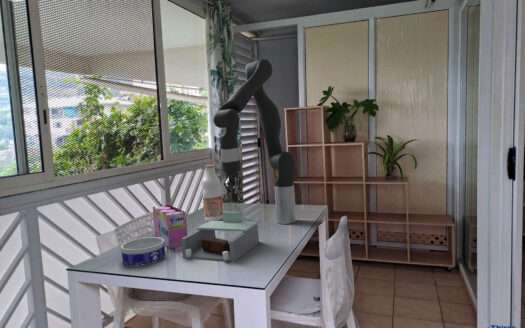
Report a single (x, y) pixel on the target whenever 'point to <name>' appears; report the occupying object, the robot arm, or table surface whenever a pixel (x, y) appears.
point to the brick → (215, 245)
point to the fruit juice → (212, 195)
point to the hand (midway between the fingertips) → (235, 202)
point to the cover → (228, 223)
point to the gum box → (170, 225)
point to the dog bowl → (143, 250)
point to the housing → (237, 249)
